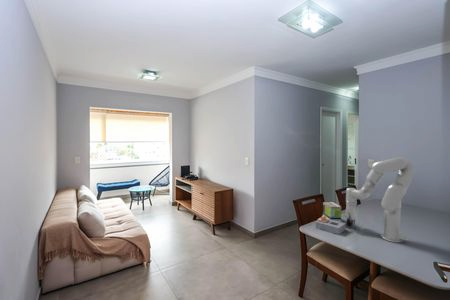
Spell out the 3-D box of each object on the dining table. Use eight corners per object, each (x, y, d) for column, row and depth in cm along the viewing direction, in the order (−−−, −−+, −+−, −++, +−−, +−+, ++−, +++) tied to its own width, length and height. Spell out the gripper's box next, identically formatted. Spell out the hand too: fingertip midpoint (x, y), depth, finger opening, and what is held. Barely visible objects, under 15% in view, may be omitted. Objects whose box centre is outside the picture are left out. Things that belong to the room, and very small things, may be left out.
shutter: (329, 220, 184) (329, 216, 184) (325, 222, 179) (325, 218, 179) (321, 218, 189) (321, 214, 189) (317, 220, 185) (317, 216, 184)
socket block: (345, 229, 178) (345, 223, 178) (338, 234, 169) (338, 228, 169) (323, 223, 192) (323, 217, 191) (315, 227, 182) (315, 221, 182)
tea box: (341, 223, 191) (342, 206, 191) (330, 223, 191) (330, 206, 191) (333, 217, 207) (333, 201, 206) (322, 217, 206) (322, 201, 206)
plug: (354, 228, 181) (355, 217, 180) (353, 229, 178) (353, 218, 177) (348, 226, 184) (349, 215, 184) (346, 228, 181) (346, 217, 181)
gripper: (350, 200, 189) (349, 220, 190) (342, 204, 177) (341, 226, 178) (359, 202, 183) (359, 223, 184) (352, 206, 171) (352, 228, 172)
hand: (350, 224), depth 181 cm, fingers open, 7 cm apart
